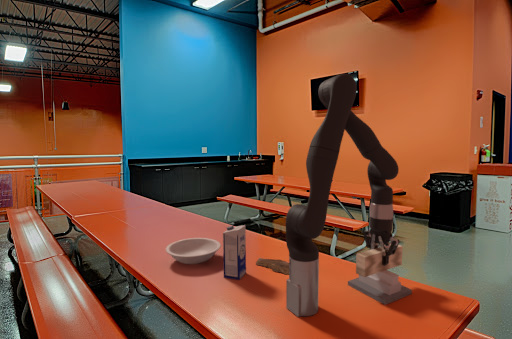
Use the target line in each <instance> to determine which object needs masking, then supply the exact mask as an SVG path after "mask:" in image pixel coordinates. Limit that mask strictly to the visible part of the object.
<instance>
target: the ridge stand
mask: <svg viewBox="0 0 512 339" xmlns="http://www.w3.org/2000/svg"><path fill="white" fill-rule="evenodd" d="M399 276H400V275H399V274H397V273H395V272H392V271H390V270H389V269H387V270H385V271H382V272H379V273H376V274H373V275H370V276H367V277H363V276H361V275H358V277H356V278H353V279H350V280H348V281H347V286H348V287H351V288H353V289H355V290H356V291H359V292H360V293H362V294H363V295H366V296H368V297H369V298H372V299H373V300H375V301H376V302H379V303H381V304H382V305H384V306H386V305H388V304H390V303H393V302H396V301H398V300H401V299H402V298H405V297H407V296H410V295H412V292H413V289H412V288H409V287H406V286H405V285H402V282H401V281H399Z"/></svg>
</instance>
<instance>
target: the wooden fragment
mask: <svg viewBox="0 0 512 339" xmlns="http://www.w3.org/2000/svg"><path fill="white" fill-rule="evenodd" d="M255 265H256V266H261V267H265V268H269V269H270V270H272V271H273V272H277V273H281V274H284V275H287V276H289V261H286V260H282V259H272V258H271V259H270V258H264V257H263V258H262V257H258V259H257V260H256V262H255Z"/></svg>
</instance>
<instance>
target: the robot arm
mask: <svg viewBox="0 0 512 339" xmlns="http://www.w3.org/2000/svg"><path fill="white" fill-rule="evenodd" d="M357 89H358V88H357V82H356V79H355V78H354V77H353V75H351V74H348V73H341V74H338V75H337V74H336V75H335V76H332V77H330V78H328V79H326V80H324V81H323V82H321V83H320V85H319V87H318V92H317V93H318V98H319V100H320V102H321V103H322V104H323V106H324V108H326V109H327V112H326V114H325V117H324V119H323V121H322V122H321V124H320V125H319V127H318V128H317V130H316V132H315V133H314V136H312V139H311V142H310V143H309V148H308V152H307V156H306V161H305V167H306V173H307V177H308V182H309V196H308V199H307V204H306V205H305V204H301V203H300V204H299V203H298V204H293V205H292V206H291V207H290V208H289V209H288V211H287V213H286V215H285V216H286V217H285V239H286V240H285V241H286V242H285V243H286V247H287V250H288V263H289V275H288V279H286V289H285V291H286V292H285V293H286V295H285V296H286V299H285V300H286V303H285V304H286V306H285V308H286V309H287V310H289V311H290V312H291V313H292V314H294V315H295V316H296V317H298V318H299V317H310V316H314V315H317V313H318V312H319V280H320V279H319V274H320V269H319V267H320V266H319V265H320V264H319V263H320V260H319V259H320V256H319V255H320V250H319V248H318V246H317V244H315V242H314V241H313V240H316V239H317V238H318V237H320V235H321V234H322V233H323V230H324V228H325V226H326V220H327V214H328V207H329V198H330V192H331V188H332V183H333V179H334V175H335V174H334V173H335V171H336V166H337V163H338V160H339V156H340V155H339V154H340V152H341V151H340V149H341V145H342V142H343V138H344V133H345V132H346V133H347V134H348V136H349V137H350V138H351V140H352V142H353V144H354V145H355V147H356V148H357V150H358V151H359V153H360V154H361V156H362V157H363V159H366V160H368V161H369V162H368V165H367V179H368V182H369V184H368V185H369V187H370V190H371V192H370V207H369V230H365V231H363V232H362V233H363V238H364V241H365V246H366V248H367V249H369V250H372V249H375V248H379V247H381V249H382V253H383V255H382V265H383V266H385V265H387V264H388V263H389V256H390V255H393V254H395V252H396V249H397V247H398V245H400V240H399V239H396V238H394V237H393V234H392V231H393V227H394V224H393V223H394V205H393V202H394V199H393V198H394V191H393V190H394V189H393V188H392V187H391V186H389V185H388V184H387V181H392V180H394V179H395V178H396V177H397V176H398V174H399V165H398V162H397V160H396V159H395V158H394V157H393V156H392V155H391V153H389V151H388V150H387V149H386V148H385V147H384V146H382V144H381V142H380V140H379V138H378V137H377V135H376V134H375V132H374V130H373V129H372V128H371V127H370V126H369V124H367V123H366V122H365V121H363V119H361V118H360V117H358V115H356V114H355V112H353V111H352V107H353V106H354V105H353V104H354V102H355V99H356V96H357ZM390 244H391V245H390Z"/></svg>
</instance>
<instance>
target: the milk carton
mask: <svg viewBox="0 0 512 339" xmlns="http://www.w3.org/2000/svg"><path fill="white" fill-rule="evenodd" d="M246 232H247V231H246V224H244V225H243V224H242V225H238V226H234V225H230V226H227V227H226V230H225V231H223V232H222V252H223V253H222V256H223V278H225V279H231V280H238V281H240V280H241V279H242V278H243V277H244V276H245V275H246V273H247V253H246V252H247V250H246V249H247V247H246V241H247V240H246V236H247V235H246Z"/></svg>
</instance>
